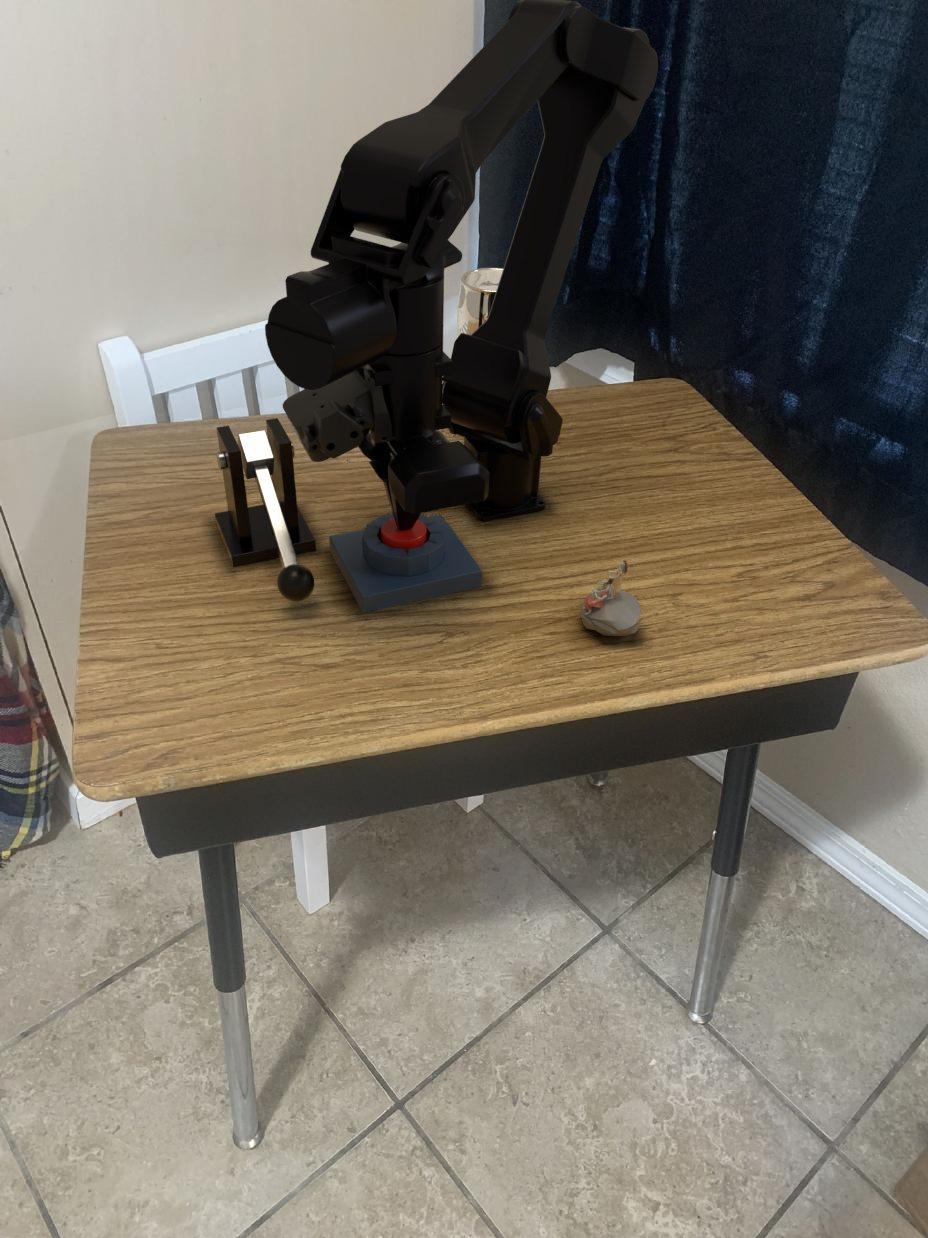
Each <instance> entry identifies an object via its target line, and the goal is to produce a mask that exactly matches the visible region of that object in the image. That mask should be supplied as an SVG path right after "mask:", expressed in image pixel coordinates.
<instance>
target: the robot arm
mask: <svg viewBox="0 0 928 1238" xmlns="http://www.w3.org/2000/svg"><path fill="white" fill-rule="evenodd" d="M650 43H651V42H650V39H649V37H648V35H647V33H646V31H644V30H643V29H640V28H632V27H623V26H621V25H618V24H616V23H613V22H612V21H609V20H607V19H605V18H603V17H599V16H598V15H596V14H595V13H594V12H593V11H591V10H590V8H588V7H586V6H582V5H581V4H580V3H579V2H578V1H573V0H518V1H517V2H515V4H514V6H513V7H512V8H511V11H510V14H509V17H508V20H507V22H506V23H505V24H504V25H503V26H501V28H500V29H499V30H498V31H497V32H496V33H495V34H494V35H493V37H491V38H490V40H489V41H488V42H487V43H486V44H485V45H484V46H483V47H482V48H481V49H480V50H479V51H478V52H477V53H476V54H474V56H473V57H472V58H471V59H470V60H469V62H468V63H467V64H465V66H464V67H462V69H461V70H460V71H459V72H458V73H457V74H456V75H455V76H454V77H453V78H452V79H451V80H450V81H449V82H448V83H447V85H446V86H444V88H442V90H441V91H440V92H439V93H438V94H437V95H436V96H435V97H434V98H433V99H432V100H431V101H430V103H428V104H427V105H426V106H424V107H423V108H421V109H420V110H418V111H416V112H413V113H410V114H406V115H403V116H400V117H397V118H394V119H391V120H388V121H385V122H383V123H382V124H380V125H379V126H377V127H376V128H374V129H373V130H372V131H370V132H368V133H367V134H365V135H364V136H363V137H361V138H360V139H358V140H357V141H356V142H354V143H352V145H351V147H350V148H349V150H347V152H346V154H345V155H344V157H343V159H342V162H341V164H340V170H339V173H338V175H337V178H336V181H335V184H334V186H333V189H332V192H331V194H330V197H329V200H328V202H327V205H326V208H325V211H324V213H323V216H322V219H321V221H320V225H319V227H318V230H317V232H316V235H315V237H314V241H313V243H312V246H311V248H310V257H311V258H312V259H315V260H318V261H321V262H324V263H325V262H326V263H328V264H324V265H322V266H319V267H317V268H314V269H312V270H308V271H307V270H305V271H303V270H302V271H298V272H295V273H292V274H289V275H287V276H286V278H285V281H284V282H285V294H286V296H284V297H282V298H280V299H278V300H277V301H276V302H275V303H274V304H273V305H272V306H271V308H270V311H269V314H268V317H267V322H266V323H265V325H264V331H265V333H264V334H265V339H266V344H267V349H268V350H269V353H270V356H271V358H272V359H273V361H274V363H275V365H276V367H277V368H278V370H280V372H281V373H282V375H283V376H284V377H285V378H286V379H288V380H289V382H291V383H292V384H294V385H295V386H297V387H299V388H301V390H299V391H298V392H296V393H294V394H292V395H290V396H289V397H287V398H286V399H285V400H284V401H283V403H282V409H283V411H284V413H285V415H286V417H287V419H288V421H289V422H290V423H289V424H290V425H291V426H292V428H293V430H294V432H295V435H296V436H297V438H298V440H299V442H300V444H301V445H302V447H303V449H304V451H305V452H306V454H307V456H308V458H309V459H310V460H311V462H313V463H321V462H325V461H327V460H329V459H337V458H339V457H341V456H343V455H344V454H346V453H348V452H351V451H353V450H354V449H356V448H358V449H359V450H360V452H361V453H362V455H363V456H365V457H366V458H367V459H368V460H370V461H368V464H369V465H370V467H371V468H372V469H373V471H374V472H375V474H376V475H377V477H378V478H379V479H380V480H381V481H382V482H383V483H382V484H383V486H384V490H385V493H386V496H387V500H388V503H389V506H390V509H391V512H392V513H391V514H393V516H394V520H395V523H396V526H397V527H398V529H399V530H400V531H405V530H410V529H412V528H413V526H414V525H415V523H416V521H417V519H418V518H419V516H420V514H424V513H429V512H433V511H438V510H444V509H449V508H455V507H459V506H465V505H467V506H468V507H469V508H470V510H471V511H472V512H473V514H475V516H476V517H477V518H478V520H480V521H482V522H488V521H494V520H498V519H502V518H509V517H512V516H513V517H514V516H518V515H522V514H528V513H532V512H533V513H534V512H538V511H543V510H545V509H546V508H547V507H546V506H547V502H546V501H545V500H544V499H543V498H542V497H541V495H540V494H539V490H540V489H539V488H540V479H541V478H540V476H541V466H542V457H550V456H551V455H552V454H553V451H554V445H556V444H557V443H558V441H559V437H560V436H561V429H562V426H563V422H564V419H563V417H562V416H561V415H560V413H559V412H558V411H557V409H556V408H555V406H554V405H552V403H551V402H550V401H549V400H548V398H547V396H548V392H549V389H550V384H551V381H552V372H551V367H550V362H549V358H548V352H547V348H546V343H545V337H546V333H547V331H548V328H549V324H550V322H551V319H552V316H553V312H554V309H555V306H556V303H557V299H558V297H559V293H560V290H561V287H562V284H563V281H564V278H565V276H566V272H567V270H568V266H569V263H570V260H571V257H572V253H573V251H574V248H575V245H576V243H577V238H578V235H579V232H580V229H581V226H582V224H583V220H584V217H585V214H586V211H587V208H588V205H589V201H590V198H591V196H592V193H593V189H594V187H595V184H596V181H597V178H598V174H599V172H600V168H601V166H602V163H603V160H604V159H605V158H606V157H607V156H608V155H609V154H610V153H611V152H612V151H613V150H614V149H615V148H617V146H619V145H620V143H621V142H623V140H625V139H626V138H627V137H628V136H629V135H630V134H631V133H632V132H633V130H634V129H635V127H636V124H637V122H638V120H639V118H640V115H641V113H642V110H643V108H644V105H645V103H646V101H647V99H649V97H650V95H651V94H652V92H653V90H654V87H655V85H656V82H657V77H658V69H659V59H658V53H657V52H656V50H655V49H654V48H653V47H652V46H651V44H650ZM536 103H537V106H538V111H539V115H540V120H541V125H542V132H543V135H544V136H543V140H542V144H541V146H540V150H539V154H538V156H537V159H536V163H535V166H534V169H533V172H532V175H531V178H530V182H529V185H528V189H527V193H526V195H525V199H524V201H523V204H522V207H521V210H520V214H519V217H518V220H517V223H516V226H515V230H514V233H513V236H512V240H511V243H510V246H509V249H508V252H507V256H506V259H505V262H504V266H503V272H502V275H501V278H500V281H499V284H498V288H497V291H496V294H495V297H494V300H493V304H492V307H491V310H490V313H489V316H488V318H487V320H486V321H485V322H484V323H483V324H482V325H481V326H480V327H479V328H478V329H477V330H476V331H475V332H474V333H472V334H471V335H468V334H465V333H461V334H460V335H459V336H457V337H456V339H455V340H454V342H453V347H452V352H451V356H450V357H449V355H448V354H446V353H445V352H444V316H445V315H444V313H445V312H444V310H445V306H444V305H445V269H446V268H449V267H451V266H453V265H456V264H458V263H460V262H461V261H462V259H463V253H462V251H461V250H460V249H459V248H458V247H457V246H456V245H454V244H453V243H452V242H451V241H450V240H449V239H450V238H451V236H452V235H453V234H454V232H455V231H456V229H457V228H458V226H459V225H460V224H461V222H462V220H463V219H464V217H465V216H466V214H467V213H468V211H469V209H470V208H471V207H472V205H473V203H474V202H475V199H476V179H477V172H478V171H479V169H480V168H481V167H482V165H483V163H484V162H485V160H486V159H487V158H488V157H489V156H490V155H491V154H492V152H494V150H495V149H496V148H497V147H498V146H499V144H501V142H502V141H503V140H504V139H505V138H506V137H507V135H509V134H510V132H511V131H512V130H513V129H514V128H515V126H516V125H517V124H518V123H519V122H520V121H521V120H522V119H523V117H524V116H525V115H526V114H527V113H528V112H529V111H530V110H531V109H532V107H534V105H535V104H536ZM355 231H357V232H361V233H365V234H368V235H372V236H375V237H379V238H383V239H386V240H391V241H394V242H398V244H396V245H393V246H388V245H384V244H381V243H377V242H373V241H370V240H367V239H362V238H359V237H356V236H352V234H353V233H354V232H355ZM447 429H448V431H449V433H450V434H451V435H455V436H456V435H457V436H460V437H463V442H461V441H460V440H455V441H450V440H449V439H448V438H447V437H446V436H445V435H444V433H443V432H442V431H441V430H447Z"/></svg>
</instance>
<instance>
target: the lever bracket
mask: <svg viewBox="0 0 928 1238" xmlns="http://www.w3.org/2000/svg"><path fill="white" fill-rule="evenodd" d="M265 424H266V434H267V437H268V440H269V443H270V446H271V449H272V453H273V456H274V470H273V475H271V478H272V481H273V484H274V488H275V491H276V494H277V497H278V500H279V503H280V507H281V510H282V513H283V516H284V519H285V522H286V526H287V529H288V532H289V535H290V538H291V541H292V545H293V548H294V551H295V554H296V556H297V555H301V554H307V553H312V552H317V542H316V539H315V537H314V535H313V533H312V530H311V529H310V527H309V525H308V523H307V521H306V520H305V518H304V516H303V514H302V511H301V509H300V508H299V507H298V499H297V488H296V487H297V486H296V478H295V477H296V476H295V466H294V465H295V464H294V458H295V455H296V453H295V452H296V451H295V446H294V444H293V441H292V440H291V438H290V437H289V435H288V434H287V432H286V430H285V428H284V427H283V425H282V422H281V421H280V419H279V418H278V417H276V418H269V419H265ZM216 434H217V441H218V442H217V443H218V449H219V451H216V459H217V464H218V468H219V470H221V471H222V476H223V477H222V478H223V484H224V493H225V498H226V505H227V510H226V511H220V512H215V513H214V520H215V525H216V528H217V530H218V533H219V536H220V538H221V540H222V542H223V545H224V548H225V550H226V553H227V555H228V558H229V560H230V563H231V566H232V567H233V568H237V567H241V566H246V565H253V564H256V563H262V562H267V561H271V560H275V559H276V560H277V559H280V557H279V554H278V551H277V548H276V544H275V541H274V538H273V535H272V531H271V528H270V525H269V522H268V518H267V515H266V512H265V509H264V505H263V504H258V505H253V506H249V505H248V496H247V490H246V489H247V488H246V480H245V472H244V469H243V464H242V456H241V450H240V448H239V446H238V441H237V440H236V438H235V435H234V434H233V432H232V429H231V427H230V425H223V426H217V427H216Z"/></svg>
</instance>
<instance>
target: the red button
mask: <svg viewBox="0 0 928 1238" xmlns="http://www.w3.org/2000/svg"><path fill="white" fill-rule="evenodd" d="M381 539H382V543H383V544H385V545H387V546H389V547H391V548H396V549H411V548H416V547H420V546H421V545H423V544H424V543H426V526H425V524H424V523H423V522H422V521H420V520H418V519H417V521H416V523H415V525H414V526H413V528H412V529H410V530H405V531H400V530H399V529H398V527H397V526H396V523H395V520H394V518H392V519H390V520H388V521H386V522H385V523H384V524H383V525H382V528H381Z"/></svg>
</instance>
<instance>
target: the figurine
mask: <svg viewBox="0 0 928 1238" xmlns="http://www.w3.org/2000/svg"><path fill="white" fill-rule="evenodd" d="M614 573H616V575H614V576H611V574H614ZM626 573H628V561H627V560H626V559H624V560H622V561H621V563H620V565H619V567H618V568H617V569H616V570H613V571H612V570H608V573H606V574H605V575H604V576H602V577H600V579H598V580H597V581H596V584H595V585H594V587H593V589H591V592H592V593H590V594H589V595H587V596H586V597H585V599H584V600H583V602H582V603H581V607H580V617H581V621H582V625H583V626H584V628H585V629H587V630H591V631H595V632H597V633H599V634H600V635H602V636H605V637H606V636H607V637H624V636H625V637H626V636H629V635H633V634H635V633H636V632H637V631H638V630H639V626H640V623H639V620H640V619H641V615H642V607H641V604H640V602H639V601H638V599H637V598H636V597H635V596H634V595H633V594H631V593H630V592H628V591H626V590H623V589H621V588H622V581H623V574H626ZM607 576H608V578H607V580H602V579H604V578H606V577H607ZM598 584H599V585H598Z"/></svg>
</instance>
